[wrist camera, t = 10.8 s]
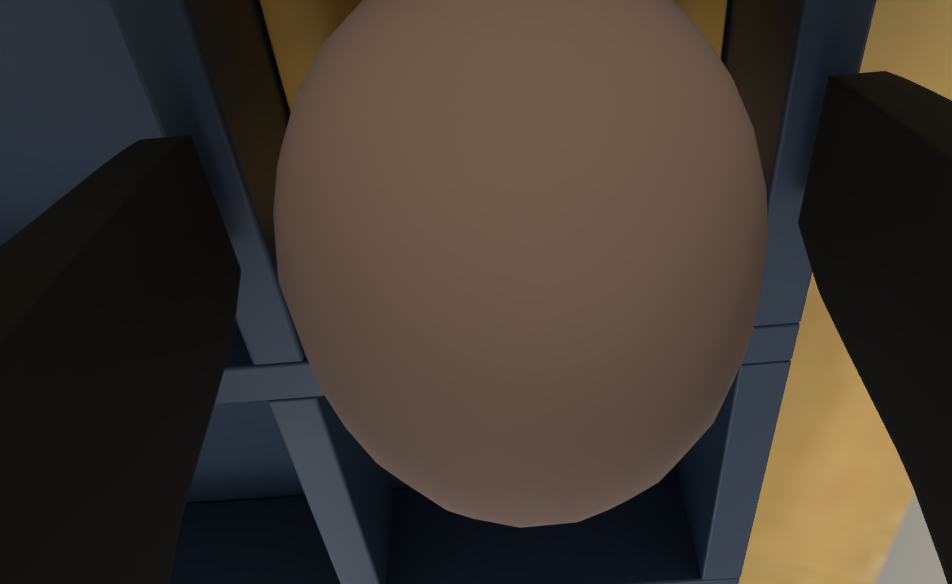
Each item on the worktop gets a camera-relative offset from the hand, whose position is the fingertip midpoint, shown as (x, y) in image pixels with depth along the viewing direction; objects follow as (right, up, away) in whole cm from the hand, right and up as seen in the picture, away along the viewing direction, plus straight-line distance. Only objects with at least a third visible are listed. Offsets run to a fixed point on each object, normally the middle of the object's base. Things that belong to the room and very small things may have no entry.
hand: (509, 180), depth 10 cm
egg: (0, +2, +2) cm, 3 cm away
